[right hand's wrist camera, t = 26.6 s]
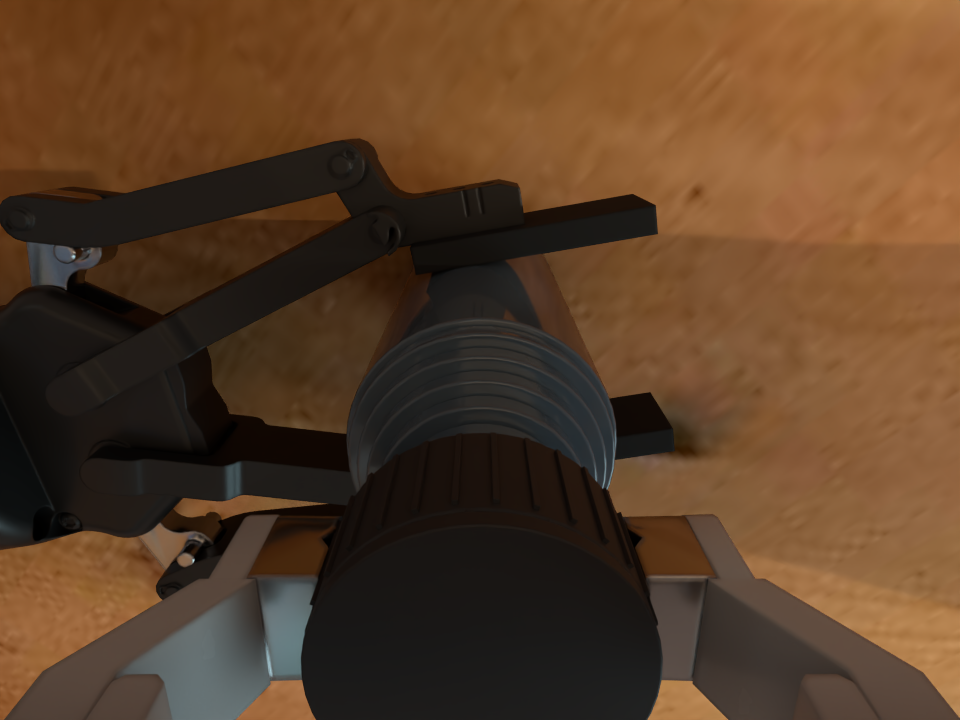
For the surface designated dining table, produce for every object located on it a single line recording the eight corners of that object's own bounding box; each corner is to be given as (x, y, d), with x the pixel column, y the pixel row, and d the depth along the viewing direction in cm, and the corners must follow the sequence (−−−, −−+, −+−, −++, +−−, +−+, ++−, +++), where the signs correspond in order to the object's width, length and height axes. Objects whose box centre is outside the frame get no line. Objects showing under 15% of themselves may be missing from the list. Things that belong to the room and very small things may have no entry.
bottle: (460, 391, 27) (428, 827, 10) (378, 276, 25) (182, 578, 9) (582, 318, 26) (762, 676, 9) (504, 192, 24) (554, 357, 8)
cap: (432, 707, 11) (421, 848, 9) (275, 512, 10) (217, 624, 8) (674, 602, 11) (726, 729, 8) (540, 373, 9) (561, 454, 7)
